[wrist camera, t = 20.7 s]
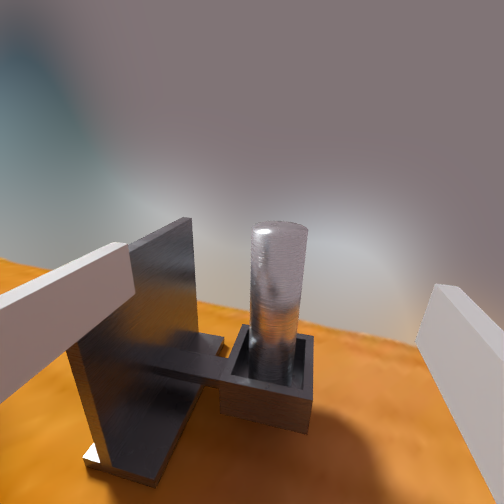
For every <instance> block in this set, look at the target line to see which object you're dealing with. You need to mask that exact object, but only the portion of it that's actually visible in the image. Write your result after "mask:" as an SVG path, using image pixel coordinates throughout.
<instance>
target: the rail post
mask: <svg viewBox="0 0 504 504" xmlns="http://www.w3.org/2000/svg"><path fill="white" fill-rule="evenodd" d="M307 235H308V229H307V228H306V227H304V226H302V225H300V224H296V223H292V222H284V221H266V222H260V223H257V224H255V225H253V226H252V246H251V247H252V248H251V289H250V330H249V372H248V378H249V379H254V380H258V381H263V382H268V383H273V384H277V385H282V386H287V387H291V383H292V374H293V364H294V355H295V346H296V337H297V327H298V318H299V308H300V299H301V290H302V281H303V271H304V262H305V253H306V243H307Z"/></svg>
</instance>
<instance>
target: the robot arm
mask: <svg viewBox="0 0 504 504" xmlns="http://www.w3.org/2000/svg"><path fill="white" fill-rule="evenodd" d="M133 295H135V287H134V281H133V275H132V268H131V262H130V256H129V249H128V244H126V243H118V242H112V243H110V244H108V245H106V246H104V247H102V248H100V249H97V250H95V251H93V252H91V253H89V254H87V255H85V256H83V257H80V258H78V259H76V260H74V261H72V262H70V263H68V264H65V265H63V266H61V267H59V268H57V269H55V270H53V271H51V272H48V273H46V274H44V275H42V276H40V277H38V278H36V279H34V280H31V281H29V282H27V283H25V284H23V285H21V286H19V287H16V288H14V289H12V290H10V291H8V292H6V293H4V294H2V295H0V404H1V403H2V402H3V401H4V400H6V399H7V398H8V397H9V396H11V395H12V394H13V393H14V392H15V391H17V390H18V389H19V388H20V387H22V386H23V385H24V384H25V383H26V382H28V381H29V380H30V379H31V378H33V377H34V376H35V375H36V374H38V373H39V372H40V371H41V370H42V369H44V368H45V367H46V366H47V365H49V364H50V363H51V362H52V361H54V360H55V359H56V358H57V357H58V356H60V355H61V354H62V353H63V352H65V351H66V350H67V349H68V348H69V347H71V346H72V345H73V344H74V343H76V342H77V341H78V340H79V339H81V338H82V337H83V336H84V335H85V334H87V333H88V332H89V331H90V330H92V329H93V328H94V327H95V326H97V325H98V324H99V323H100V322H101V321H103V320H104V319H105V318H106V317H108V316H109V315H110V314H111V313H112V312H114V311H115V310H116V309H117V308H119V307H120V306H121V305H122V304H124V303H125V302H126V301H127V300H128V299H130V298H131V297H132V296H133ZM415 342H416V345H417V347H418V349H419V351H420V353H421V355H422V357H423V359H424V361H425V363H426V365H427V367H428V369H429V371H430V373H431V375H432V377H433V379H434V381H435V383H436V385H437V386H438V388H439V390H440V392H441V394H442V396H443V398H444V400H445V402H446V404H447V406H448V408H449V410H450V412H451V414H452V416H453V418H454V420H455V422H456V424H457V426H458V428H459V430H460V432H461V434H462V436H463V438H464V440H465V442H466V444H467V446H468V448H469V450H470V452H471V454H472V456H473V458H474V460H475V462H476V464H477V466H478V468H479V470H480V472H481V474H482V476H483V478H484V480H485V482H486V484H487V486H488V488H489V490H490V492H491V494H492V496H493V498H494V500H495V502H496V503H497V504H504V331H503V330H502V329H500V327H498V325H497V324H496V323H495V322H494V321H493V320H492V319H491V318H490V317H489V316H487V314H486V313H485V312H483V311H482V310H481V309H480V308H479V307H478V306H477V305H476V304H475V303H474V302H473V301H472V300H471V299H470V298H469V297H468V296H467V295H466V294H465V293H464V292H463V291H462V290H461V289H460V288H459V287H458V286H451V285H443V284H435V286H434V288H433V291H432V294H431V297H430V300H429V303H428V306H427V308H426V311H425V314H424V317H423V320H422V322H421V325H420V328H419V331H418V334H417V336H416V339H415Z"/></svg>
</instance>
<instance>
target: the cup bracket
mask: <svg viewBox="0 0 504 504" xmlns="http://www.w3.org/2000/svg"><path fill="white" fill-rule="evenodd" d="M128 249H129V256H130V262H131V268H132V275H133V281H134V287H135V295H133V296H132V297H131V298H130V299H128V300H127V301H126V302H125V303H124V304H122V305H121V306H120V307H119V308H117V309H116V310H115V311H114V312H112V313H111V314H110V315H109V316H108V317H106V318H105V319H104V320H103V321H101V322H100V323H99V324H98V325H97V326H95V327H94V328H93V329H92V330H90V331H89V332H88V333H87V334H85V335H84V336H83V337H82V338H81V339H79V340H78V341H77V342H76V343H74V344H73V345H72V346H71V347H69V348H68V349H67V350H66V353H67V356H68V360H69V363H70V366H71V369H72V373H73V376H74V379H75V382H76V386H77V389H78V392H79V395H80V399H81V402H82V405H83V409H84V412H85V415H86V418H87V422H88V425H89V428H90V431H91V435H92V438H93V441H94V443H93V444H92V446H91V447H90V448H89V450H88V451H87V452H86V454H85V455H84V456H83V460H84V463H85V466H87V467H90V468H93V469H97V470H100V471H103V472H106V473H109V474H112V475H115V476H118V477H121V478H125V479H128V480H131V481H134V482H137V483H140V484H143V485H146V486H150V487H153V488H156V487H157V485H158V483H159V481H160V479H161V477H162V474H163V472H164V470H165V468H166V466H167V464H168V462H169V460H170V458H171V455H172V453H173V451H174V449H175V447H176V445H177V443H178V441H179V438H180V436H181V434H182V432H183V430H184V428H185V426H186V424H187V422H188V419H189V417H190V415H191V413H192V411H193V409H194V407H195V405H196V402H197V400H198V398H199V396H200V394H201V392H202V390H203V388H204V386H209V387H213V388H218V389H219V394H220V414H224V415H228V416H232V417H236V418H241V419H245V420H249V421H253V422H257V423H261V424H265V425H269V426H273V427H277V428H282V429H286V430H290V431H294V432H298V433H302V434H306V435H307V433H308V427H309V421H310V414H311V408H312V402H313V344H314V336H310V335H304V334H299V333H297V337H296V346H295V355H294V364H293V374H292V383H291V387H287V386H282V385H277V384H273V383H268V382H263V381H258V380H254V379H249V378H248V372H249V330H250V325H245V324H242V327H241V329H240V332H239V334H238V336H237V339H236V341H235V343H234V346H233V348H232V351H231V353H230V355H229V358H223V357H218V356H219V354H220V352H221V350H222V347H223V345H224V337H221V336H216V335H210V334H205V333H199V332H198V315H197V298H196V282H195V265H194V250H193V232H192V218H184V217H182V218H181V219H178V220H176V221H174V222H172V223H170V224H168V225H167V226H164V227H162V228H161V229H159V230H157V231H155V232H153V233H151V234H149V235H147V236H145V237H143V238H141V239H139V240H137V241H135V242H133V243H131V244H129V245H128Z"/></svg>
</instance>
